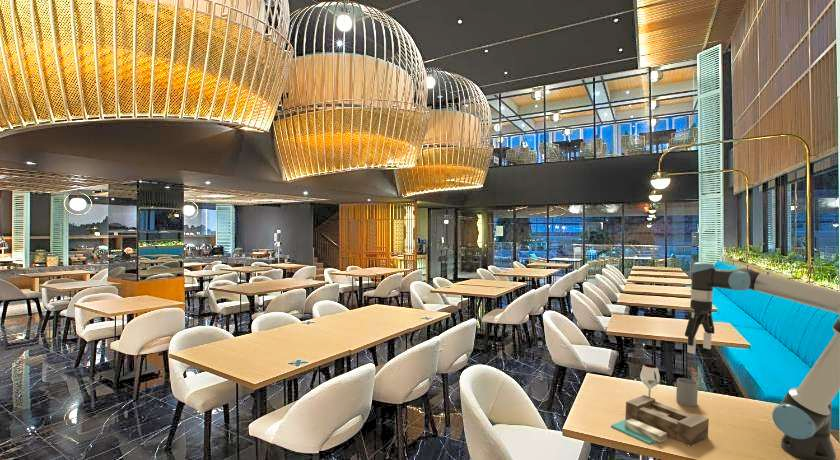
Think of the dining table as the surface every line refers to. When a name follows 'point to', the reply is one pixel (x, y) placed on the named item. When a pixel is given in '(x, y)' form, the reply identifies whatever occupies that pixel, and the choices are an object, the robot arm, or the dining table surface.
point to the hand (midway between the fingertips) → (699, 350)
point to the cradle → (668, 420)
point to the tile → (646, 430)
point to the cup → (687, 392)
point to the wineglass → (650, 376)
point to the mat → (631, 432)
